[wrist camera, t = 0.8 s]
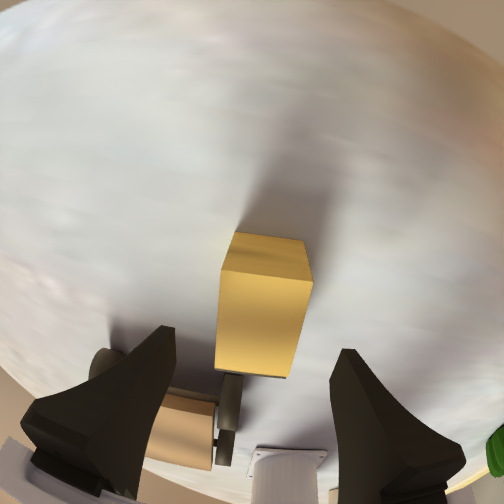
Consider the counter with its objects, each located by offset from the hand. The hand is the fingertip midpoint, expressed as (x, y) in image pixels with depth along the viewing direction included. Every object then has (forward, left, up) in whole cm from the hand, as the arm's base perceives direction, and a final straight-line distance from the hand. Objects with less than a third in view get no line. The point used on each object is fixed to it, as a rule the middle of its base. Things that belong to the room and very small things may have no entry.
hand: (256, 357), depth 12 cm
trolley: (-13, +6, -7) cm, 16 cm away
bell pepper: (-24, -43, -7) cm, 50 cm away
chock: (0, 0, -7) cm, 7 cm away
